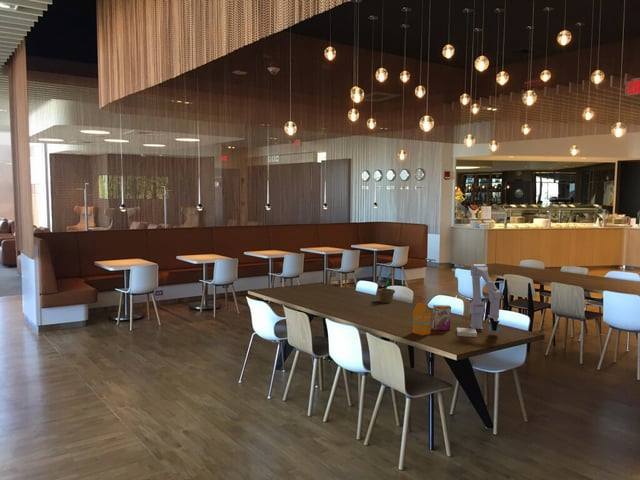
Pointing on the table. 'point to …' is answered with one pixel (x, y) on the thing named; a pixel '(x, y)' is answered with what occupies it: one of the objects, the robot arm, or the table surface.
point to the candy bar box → (441, 317)
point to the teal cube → (491, 329)
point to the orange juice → (421, 319)
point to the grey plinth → (466, 332)
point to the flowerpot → (386, 292)
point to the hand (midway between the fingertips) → (493, 329)
